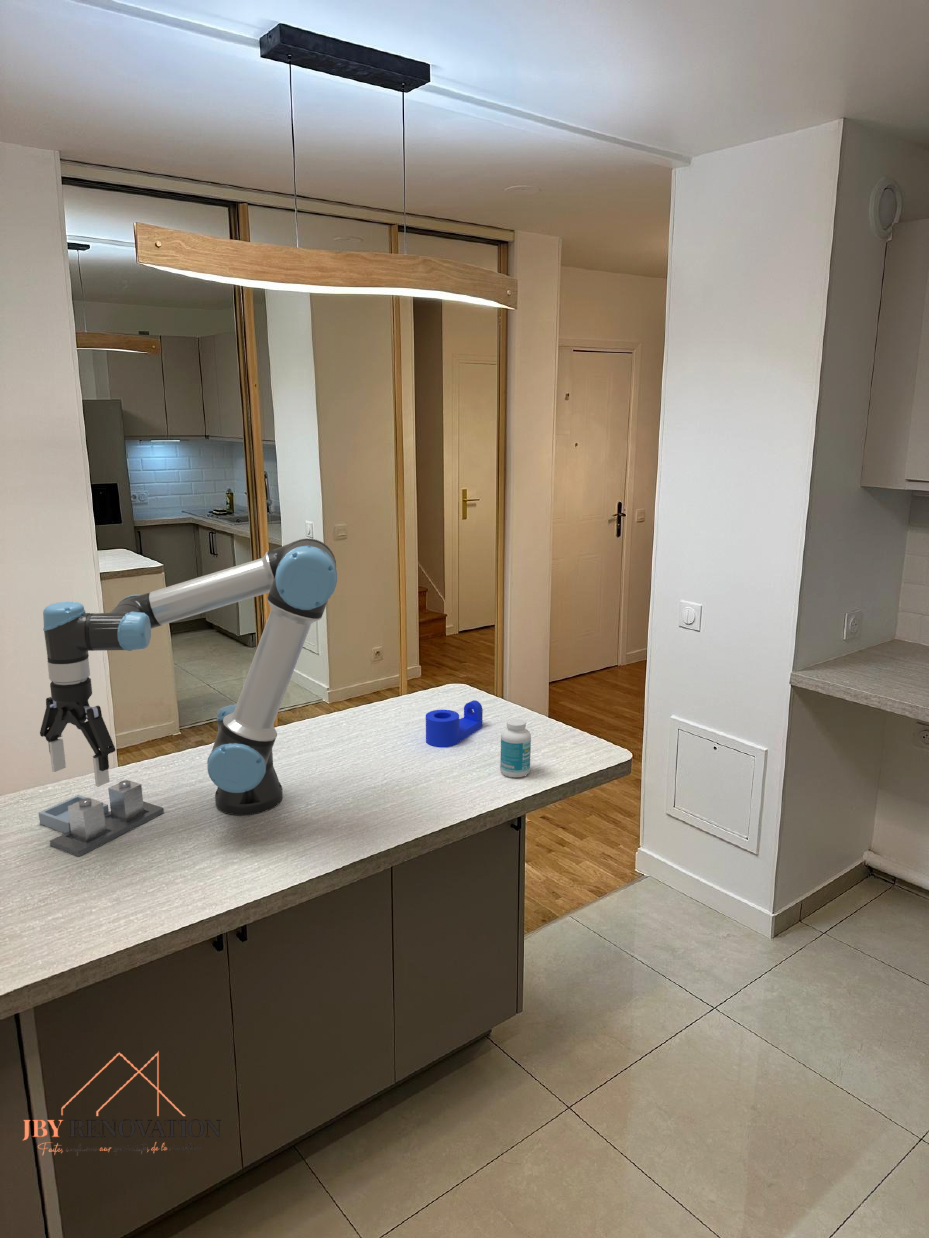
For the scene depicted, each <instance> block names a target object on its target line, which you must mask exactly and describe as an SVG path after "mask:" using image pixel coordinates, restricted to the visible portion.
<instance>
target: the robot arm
mask: <svg viewBox="0 0 929 1238" xmlns="http://www.w3.org/2000/svg"><path fill="white" fill-rule="evenodd" d="M337 583H338V571H337V561H336V557H335V554H334V553H333V551H332V550H331V548H330V547H329V546H328V545H327V544H325V543H324V542H322V541H321V540H318V539H314V538H300V539H298V540H295V541H291V542H290V543H288V544H285V545H282V546H280V547H277V548H274V549H272V550H271V549H270V550H268V551H266V552H265V553H264V555H263V557H261V558H258V559H255V560H252V561H248V562H244V563H242V564H238V565H235V566H231V567H228V568H225V569H221V570H218V571H215V572H213V573H209V574H204V575H201V576H198V577H196V578H195V577H194V578H192V579H189V580H186V581H182V582H179V583H176V584H175V583H174V584H173V585H169V586H166V587H163V588H160V589H155V590H153V591H150V592H148V593H143V594H131V595H129V596H127V597H124V598H123V599H122V600H120V601H119V602H118V604H117V605H116V606H115V607H114V608H113V609H112V610H111V611H110V612H98V613H96V612H93V613H90V612H86V610H85V606H84V605H83V603H80V602H79V601H78V602H77V601H75V602H74V601H61V602H56V603H52V604H51V603H50V604H49V605H47V606H45V607H44V609H43V610H42V611H43V612H42V614H43V615H42V616H43V617H42V618H43V629H42V631H43V633H44V642H45V650H46V656H47V669H48V679H49V680H50V683H49V684H50V685H49V686H50V696H49V697H46V698H45V711H44V714H43V720H42V723H41V726H40V731H39V735H40V736H41V738H43V737H44V738H45V740H46V742H48V751H49V755H50V762H51V764H50V765H51V772H53V773H57V772H58V771H61V770H64V769H65V768H67V766H66V765H67V763H66V755H65V746H64V739H63V738H62V737H63V735H62V734H63V732H64V730H65V728H66V727H67V725H68V724H71V725H73V726H75V727H76V729H78V730H80V731H81V733H82V734H83V736H84V737H85V740H86V741H87V743H88V744H89V746H90V748H91V749H92V750H93V751H92V752H94V754H93V756H92V760H93V761H92V762H93V773H94V781H95V786H96V787H101V786H103V785H105V784H107V783H110V773H109V769H110V764H109V763H110V762H109V754H112V753H115V752H116V747H115V745H114V744H115V743H114V742H113V739H112V737H111V734H110V733H109V730H108V728H107V725H106V722H105V721H104V718H103V715H102V709H101V706H100V705H96V706H90V702H89V699H90V697H91V696H92V695H93V689H92V688H93V687H92V678H90V675H91V671H90V670H91V669H90V668H91V667H90V661H89V651H90V652H93V651H95V652H97V651H100V652H101V651H102V652H103V651H128V652H130V651H131V652H132V651H137V650H144V649H146V648H148V646H149V645H150V641H151V637H152V629H154V628H158V627H161V626H163V625H167V624H170V623H173V622H177V621H180V620H183V619H184V620H185V619H187V618H189V617H193V616H197V615H199V614H203V613H206V612H209V611H212V610H216V609H218V608H220V609H221V608H223V607H225V606H228V605H232V604H235V603H239V602H241V601H246V600H249V599H252V598H256V597H258V596H263V595H264V594H268V595H267V597H266V601H267V603H268V604H269V607H270V612H269V615H268V618H267V620H266V622H265V625H264V628H263V631H262V634H261V637H260V639H259V641H258V644H257V647H256V651H255V653H254V655H253V658H252V661H251V663H250V665H249V669H248V672H247V675H246V677H245V680H244V683H243V686H242V689H241V690H240V691H241V692H240V694H239V697H238V700H237V702H236V703H235V704H234V703H233V704H230V705H225V706H223V707H221V708H220V709H218V710H217V713H216V714H217V715H216V716H217V717H216V723H217V734H216V738H215V739H214V743H213V746H212V749H211V752H210V753H209V755H208V758H207V762H206V764H207V774H208V776H209V778H210V780H211V781H212V783H213V784H214V785H215V786H216V787H217V789H216V790H215V793H214V798H215V799H214V800H215V806H216V808H217V809H218V810H219V811H220V812H222V813H225V814H229V815H232V816H235V815H236V816H249V815H255V814H260V813H265V812H266V811H269V810H272V809H273V808H275V807H277V806H278V805H280V804H281V803H282V800H283V797H284V796H283V795H284V794H283V786H282V784H281V782H280V780H279V777H278V775H277V772H276V770H275V767H274V757H273V748H274V745H275V742H276V739H277V737H278V733H277V730H276V728H275V725H274V724H275V722H276V719H277V716H278V713H279V711H280V709H281V705H282V702H283V701H284V698H285V695H286V692H287V690H288V687H289V684H290V682H291V679H292V677H293V674H294V671H295V668H296V666H297V663H298V661H299V657H300V655H301V652H302V649H303V647H304V644H305V643H306V642H305V641H306V638H307V636H308V633H309V630H310V629H311V625H312V624H314V623H315V622H317V621H320V620H321V619H322V617H323V615H324V612H325V609H326V607H327V605H328V601H329V600H330V599H331V596H332V595H333V594H334V593H335V591H336V587H337Z"/></svg>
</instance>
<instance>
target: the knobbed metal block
mask: <svg viewBox="0 0 929 1238" xmlns="http://www.w3.org/2000/svg"><path fill="white" fill-rule="evenodd" d="M103 803H104V802H103V801H100V800H97V799H94V798H91V797H87V798H85V799H81V800H80V801H78V802H76V803H74V804H72V805H70V806H68V811H69V819H70V828H71V836H72V839H74V840H76V841H79V842H82V843H84V844H87V843H89V842H91V841H93V840H95V839H97V838H99V837H101V836H103V835H105V834H106V825H105V816H104V808H103Z"/></svg>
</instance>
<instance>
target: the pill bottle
mask: <svg viewBox="0 0 929 1238" xmlns="http://www.w3.org/2000/svg"><path fill="white" fill-rule="evenodd" d="M526 725H527V723H526V721H525V720H524V719H520V718H511V719H508V720H507V721H506V728H504V729H503V730H502V731H501V732H500V733H501V734H500V765H499V767H500V769H499V770H500V773H501V775H503V774H504V775H503V776H505V777H507V776H509V777H508V778H512V777H521V776H525V775H527V774H528V773H529V774H530V773H531V772H530V771H531V750H532V749H531V748H532V745H531V743H532V734H531V732H530V731H529V729H527V728H526ZM529 774H528V775H529ZM528 775H527V776H528ZM525 777H526V776H525ZM521 778H522V777H521Z"/></svg>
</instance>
